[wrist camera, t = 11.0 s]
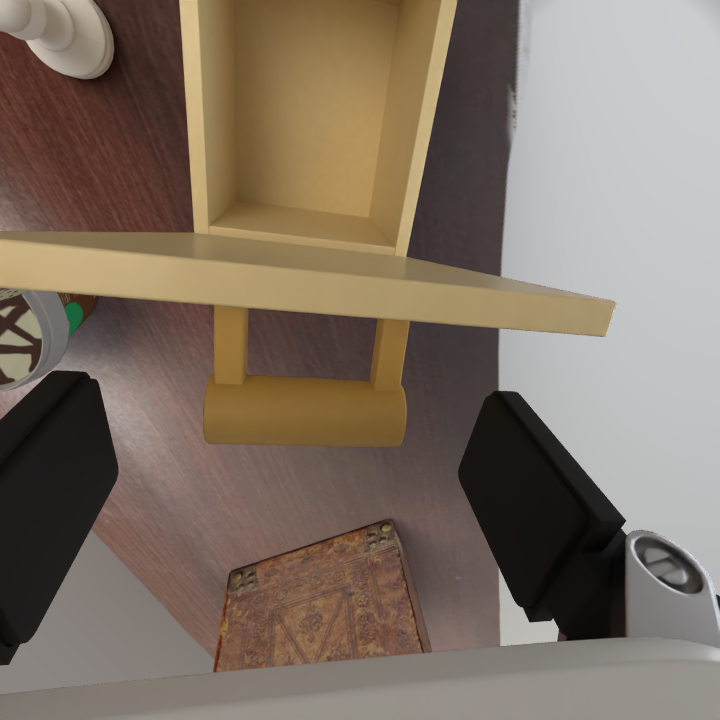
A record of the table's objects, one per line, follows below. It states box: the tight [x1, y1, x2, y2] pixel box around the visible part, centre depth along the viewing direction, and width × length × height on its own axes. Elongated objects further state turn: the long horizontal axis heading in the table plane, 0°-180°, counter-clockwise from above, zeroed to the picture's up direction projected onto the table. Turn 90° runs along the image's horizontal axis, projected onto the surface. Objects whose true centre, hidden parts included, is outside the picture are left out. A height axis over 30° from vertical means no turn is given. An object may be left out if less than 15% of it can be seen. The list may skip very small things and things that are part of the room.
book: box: [213, 519, 432, 673], centre depth 45 cm, size 25×9×30 cm, turn 108°
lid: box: [0, 231, 616, 447], centre depth 15 cm, size 16×13×5 cm
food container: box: [0, 288, 98, 392], centre depth 30 cm, size 12×6×10 cm, turn 107°
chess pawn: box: [0, 0, 114, 79], centre depth 21 cm, size 5×5×9 cm
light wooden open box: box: [179, 0, 457, 257], centre depth 24 cm, size 16×13×12 cm
